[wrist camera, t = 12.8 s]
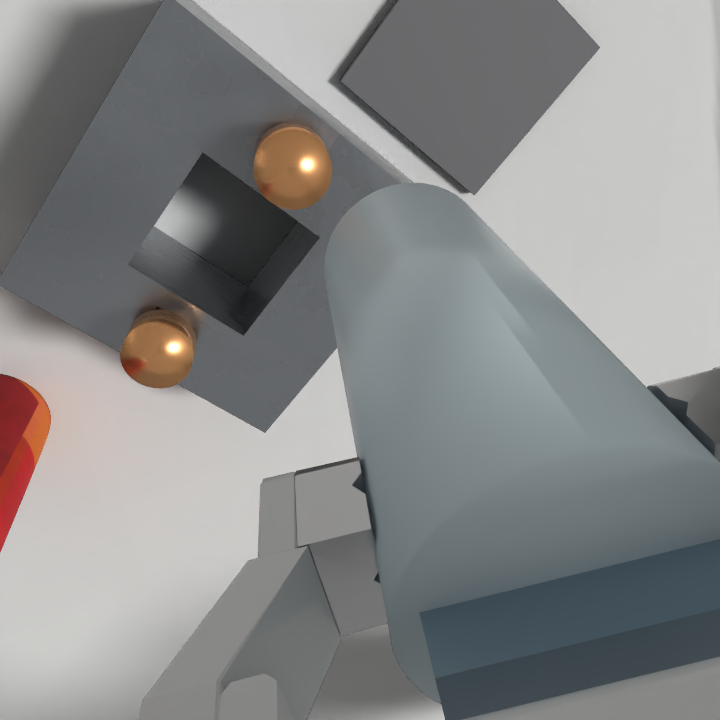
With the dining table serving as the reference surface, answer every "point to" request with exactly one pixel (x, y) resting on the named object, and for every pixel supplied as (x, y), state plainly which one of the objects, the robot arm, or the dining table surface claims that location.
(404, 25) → the pad
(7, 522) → the paper cup
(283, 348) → the housing
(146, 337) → the copper knob
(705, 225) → the dining table surface
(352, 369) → the cartridge
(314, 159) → the copper dome knob
